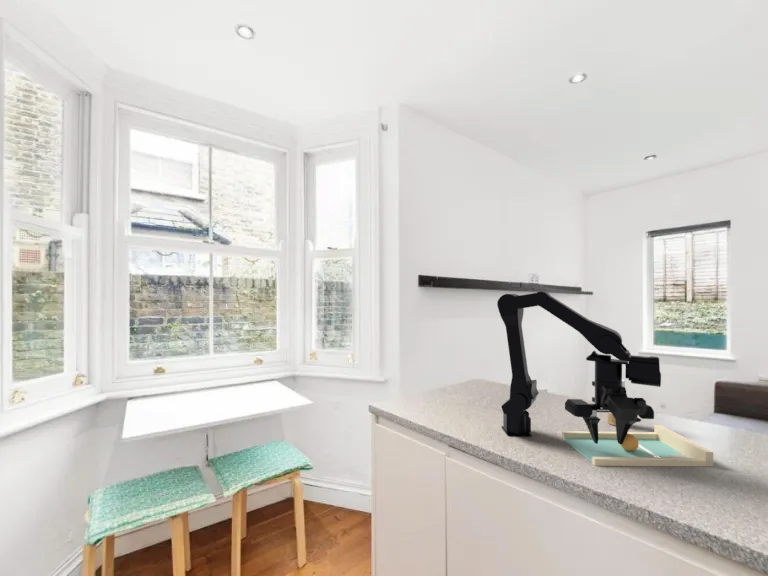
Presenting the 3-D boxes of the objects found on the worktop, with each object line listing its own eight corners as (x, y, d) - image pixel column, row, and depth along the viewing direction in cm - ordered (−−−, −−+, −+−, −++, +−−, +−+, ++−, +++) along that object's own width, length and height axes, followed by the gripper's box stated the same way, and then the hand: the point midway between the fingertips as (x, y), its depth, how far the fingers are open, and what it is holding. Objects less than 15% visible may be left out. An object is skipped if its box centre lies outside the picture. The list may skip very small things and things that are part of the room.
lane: (594, 467, 80) (594, 450, 80) (562, 438, 95) (562, 423, 95) (713, 470, 79) (713, 452, 79) (660, 439, 94) (660, 425, 95)
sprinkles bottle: (627, 424, 105) (627, 379, 105) (620, 428, 103) (620, 381, 103) (611, 420, 109) (610, 376, 109) (603, 423, 106) (603, 378, 106)
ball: (623, 450, 85) (628, 435, 85) (613, 444, 89) (617, 428, 89) (639, 456, 85) (644, 440, 85) (629, 449, 89) (633, 433, 89)
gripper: (587, 388, 80) (586, 457, 79) (672, 390, 79) (672, 460, 79) (564, 376, 91) (563, 437, 91) (638, 378, 90) (638, 439, 90)
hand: (607, 443), depth 87 cm, fingers open, 6 cm apart
